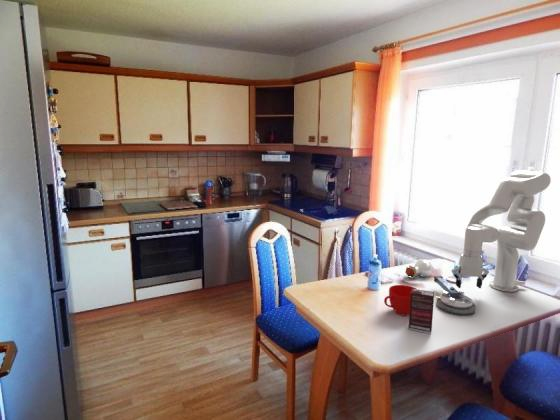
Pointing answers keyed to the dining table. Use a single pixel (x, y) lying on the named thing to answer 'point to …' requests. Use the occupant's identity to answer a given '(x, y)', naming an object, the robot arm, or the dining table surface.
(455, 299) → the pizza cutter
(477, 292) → the dining table surface
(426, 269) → the potion bottle
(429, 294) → the supplement box
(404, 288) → the ceramic cup
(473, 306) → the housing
